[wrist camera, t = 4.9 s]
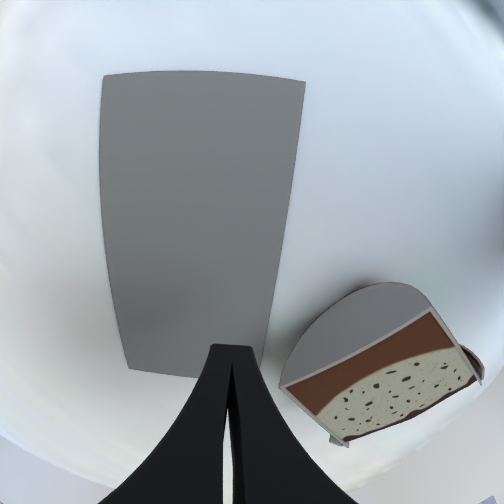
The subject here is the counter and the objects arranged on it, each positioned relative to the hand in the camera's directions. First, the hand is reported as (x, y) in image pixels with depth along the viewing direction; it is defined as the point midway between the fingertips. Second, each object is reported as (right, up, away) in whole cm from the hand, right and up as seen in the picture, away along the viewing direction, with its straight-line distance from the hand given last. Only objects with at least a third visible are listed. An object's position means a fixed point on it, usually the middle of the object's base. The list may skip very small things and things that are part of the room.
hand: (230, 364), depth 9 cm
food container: (+6, 0, +6) cm, 9 cm away
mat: (-3, +3, +6) cm, 8 cm away
